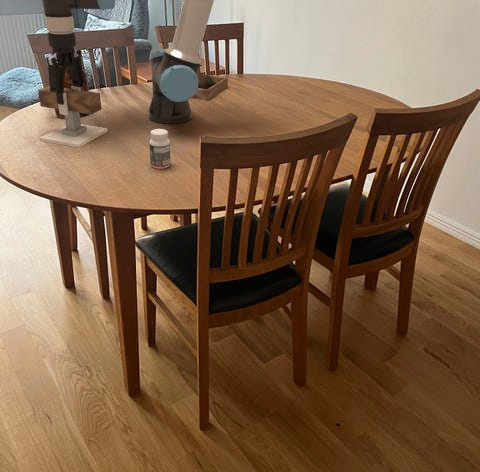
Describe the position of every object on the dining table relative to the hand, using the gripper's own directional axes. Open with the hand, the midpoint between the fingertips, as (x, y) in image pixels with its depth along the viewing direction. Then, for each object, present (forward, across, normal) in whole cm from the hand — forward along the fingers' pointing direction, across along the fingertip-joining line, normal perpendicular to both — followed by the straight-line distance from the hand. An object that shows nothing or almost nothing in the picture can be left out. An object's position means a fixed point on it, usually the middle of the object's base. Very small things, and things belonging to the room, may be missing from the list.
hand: (71, 110), depth 157 cm
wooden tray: (+8, -66, +16) cm, 68 cm away
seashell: (+8, -68, +15) cm, 70 cm away
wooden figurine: (+8, -17, -12) cm, 22 cm away
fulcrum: (+8, 0, 0) cm, 8 cm away
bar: (-1, 0, 0) cm, 1 cm away
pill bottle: (+8, +10, +35) cm, 37 cm away
